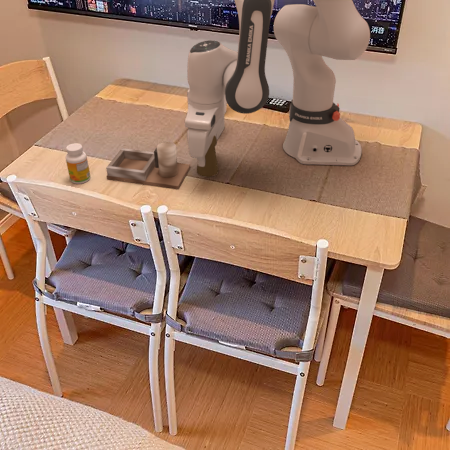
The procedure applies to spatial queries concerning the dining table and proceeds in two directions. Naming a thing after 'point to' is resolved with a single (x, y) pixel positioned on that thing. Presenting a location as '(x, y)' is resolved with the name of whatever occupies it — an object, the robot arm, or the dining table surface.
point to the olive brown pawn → (209, 162)
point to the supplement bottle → (77, 164)
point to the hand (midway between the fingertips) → (206, 156)
